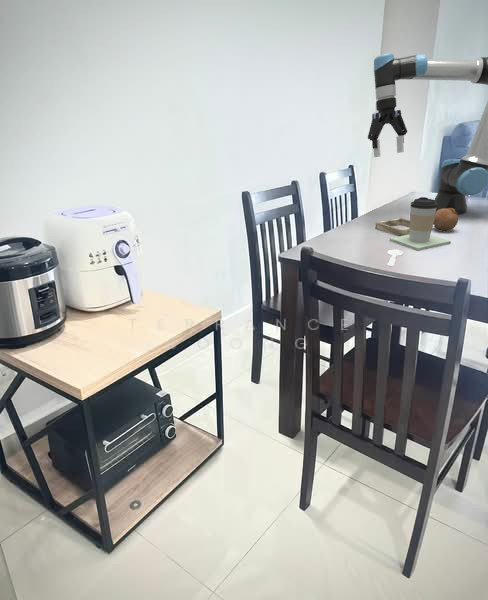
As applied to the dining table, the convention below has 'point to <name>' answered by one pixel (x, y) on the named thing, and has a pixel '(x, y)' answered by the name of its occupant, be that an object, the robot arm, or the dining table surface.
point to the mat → (418, 246)
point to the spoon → (394, 256)
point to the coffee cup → (422, 219)
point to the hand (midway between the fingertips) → (389, 154)
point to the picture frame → (387, 227)
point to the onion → (445, 219)
